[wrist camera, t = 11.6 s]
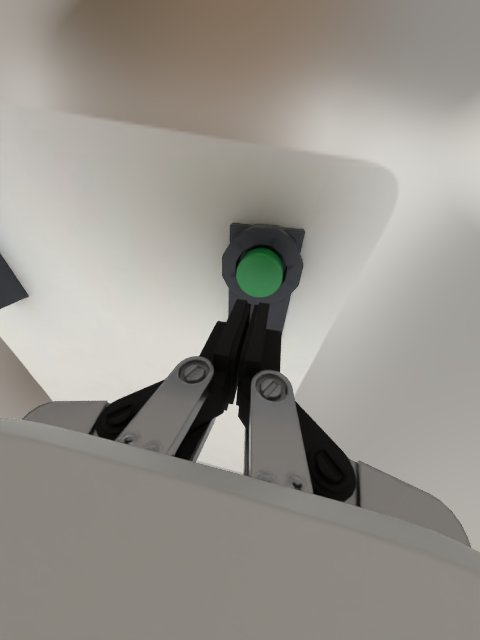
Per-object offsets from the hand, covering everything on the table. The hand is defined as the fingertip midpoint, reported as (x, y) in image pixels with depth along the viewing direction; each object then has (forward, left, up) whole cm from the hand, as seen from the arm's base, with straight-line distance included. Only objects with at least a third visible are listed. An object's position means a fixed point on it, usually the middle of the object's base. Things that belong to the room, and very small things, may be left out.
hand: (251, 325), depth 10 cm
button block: (+3, 0, -10) cm, 10 cm away
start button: (0, 0, -7) cm, 7 cm away
